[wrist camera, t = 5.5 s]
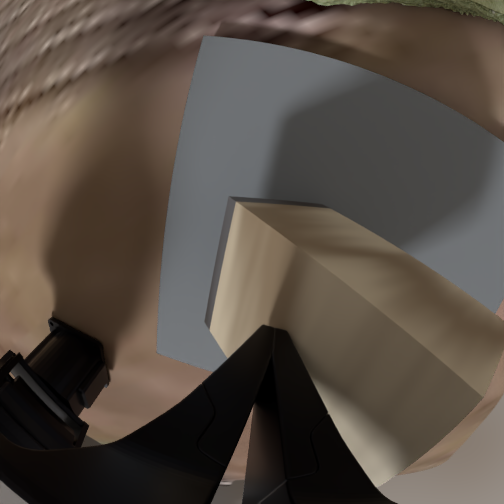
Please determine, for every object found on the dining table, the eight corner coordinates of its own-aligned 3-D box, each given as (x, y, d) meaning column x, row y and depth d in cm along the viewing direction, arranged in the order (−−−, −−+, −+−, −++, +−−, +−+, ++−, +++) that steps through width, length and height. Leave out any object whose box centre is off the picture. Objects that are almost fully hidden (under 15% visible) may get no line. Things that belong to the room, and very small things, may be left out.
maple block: (204, 321, 13) (342, 507, 6) (228, 195, 11) (483, 397, 3) (287, 306, 16) (419, 436, 8) (322, 204, 13) (510, 326, 6)
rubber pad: (163, 342, 20) (156, 352, 19) (210, 42, 12) (203, 35, 11) (421, 398, 19) (424, 408, 18) (538, 176, 11) (548, 179, 10)
